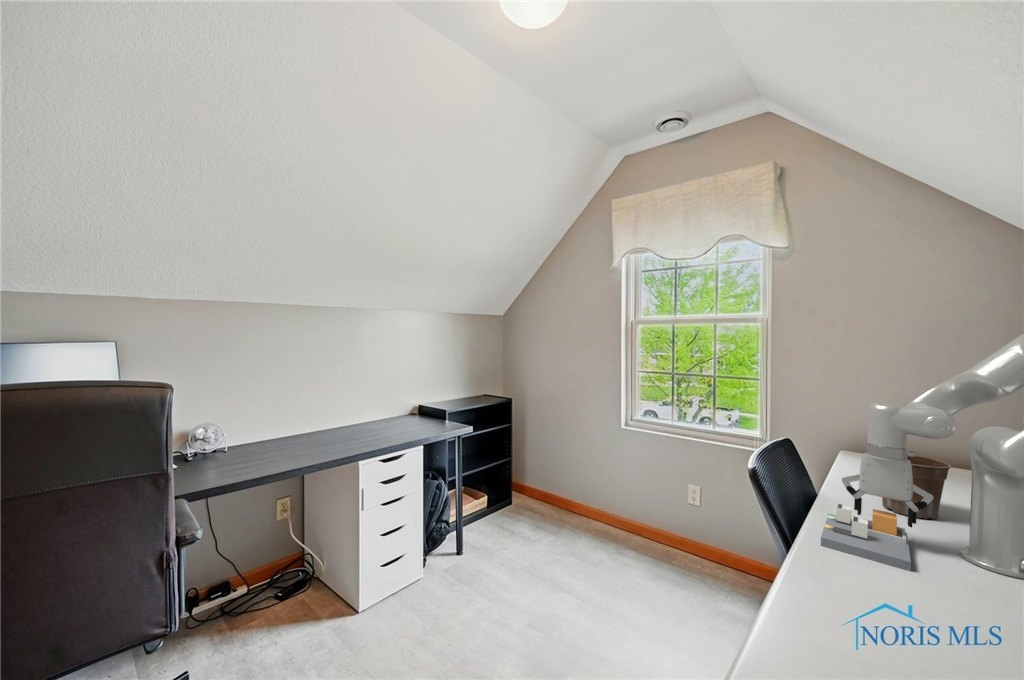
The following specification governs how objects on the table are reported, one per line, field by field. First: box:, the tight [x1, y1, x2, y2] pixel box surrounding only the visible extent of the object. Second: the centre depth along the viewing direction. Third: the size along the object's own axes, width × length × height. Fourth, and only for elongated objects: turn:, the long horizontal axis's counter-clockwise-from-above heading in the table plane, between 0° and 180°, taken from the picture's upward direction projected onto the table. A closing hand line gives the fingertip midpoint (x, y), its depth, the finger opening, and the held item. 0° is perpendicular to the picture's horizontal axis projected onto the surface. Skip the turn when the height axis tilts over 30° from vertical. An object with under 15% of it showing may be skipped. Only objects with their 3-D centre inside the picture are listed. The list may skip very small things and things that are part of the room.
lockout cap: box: [871, 508, 898, 536], centre depth 106 cm, size 4×4×5 cm
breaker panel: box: [820, 513, 912, 572], centre depth 105 cm, size 20×16×3 cm
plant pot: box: [881, 454, 952, 520], centre depth 126 cm, size 16×16×16 cm
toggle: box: [835, 503, 852, 524], centre depth 112 cm, size 3×3×4 cm
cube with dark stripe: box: [851, 516, 868, 539], centre depth 104 cm, size 3×3×4 cm
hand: (883, 519), depth 106 cm, fingers open, 9 cm apart
